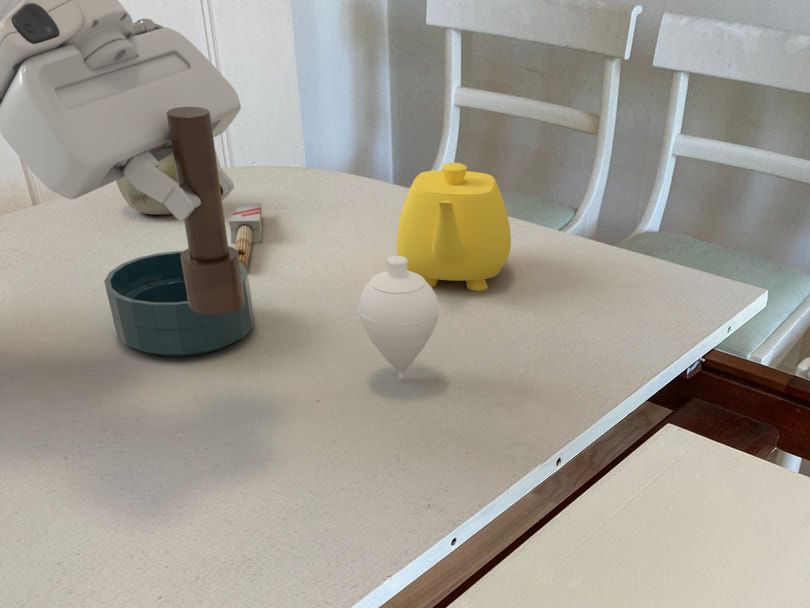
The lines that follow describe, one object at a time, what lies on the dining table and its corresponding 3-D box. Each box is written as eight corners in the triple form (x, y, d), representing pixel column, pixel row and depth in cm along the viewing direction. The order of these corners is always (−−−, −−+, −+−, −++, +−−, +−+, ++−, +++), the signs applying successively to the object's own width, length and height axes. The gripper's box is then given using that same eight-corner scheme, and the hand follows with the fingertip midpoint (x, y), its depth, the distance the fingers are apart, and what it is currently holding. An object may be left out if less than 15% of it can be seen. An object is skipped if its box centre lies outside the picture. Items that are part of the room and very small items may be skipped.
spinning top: (453, 387, 96) (453, 265, 88) (382, 404, 93) (376, 280, 85) (417, 355, 101) (415, 238, 93) (350, 371, 98) (341, 251, 90)
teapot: (386, 309, 110) (380, 193, 101) (408, 244, 124) (405, 139, 116) (504, 315, 109) (509, 199, 101) (512, 249, 124) (517, 144, 116)
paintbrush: (264, 191, 129) (253, 255, 115) (267, 212, 131) (256, 277, 117) (234, 191, 129) (220, 255, 114) (237, 212, 131) (223, 277, 116)
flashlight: (184, 315, 77) (149, 119, 67) (194, 292, 80) (163, 103, 70) (240, 315, 77) (214, 120, 67) (248, 293, 80) (224, 104, 71)
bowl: (104, 362, 98) (89, 304, 94) (134, 304, 109) (122, 250, 105) (245, 361, 99) (236, 304, 95) (261, 304, 110) (254, 251, 106)
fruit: (204, 199, 136) (189, 103, 128) (194, 223, 129) (177, 123, 121) (129, 199, 135) (109, 103, 127) (115, 223, 128) (92, 122, 120)
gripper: (138, 45, 78) (259, 191, 82) (-52, 101, 64) (105, 275, 68) (176, -16, 74) (300, 141, 78) (-19, 30, 60) (146, 219, 64)
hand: (208, 204), depth 73 cm, fingers closed on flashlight, 3 cm apart
